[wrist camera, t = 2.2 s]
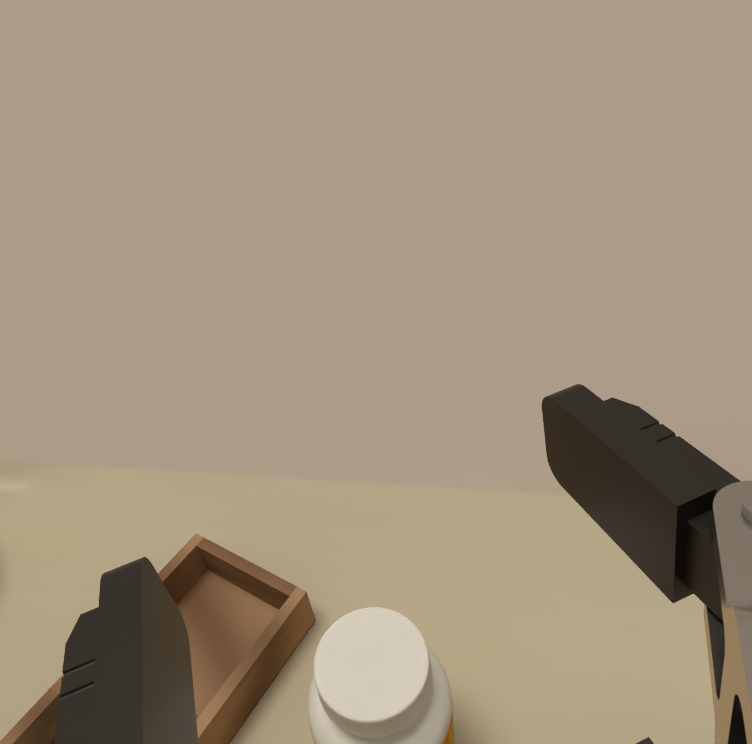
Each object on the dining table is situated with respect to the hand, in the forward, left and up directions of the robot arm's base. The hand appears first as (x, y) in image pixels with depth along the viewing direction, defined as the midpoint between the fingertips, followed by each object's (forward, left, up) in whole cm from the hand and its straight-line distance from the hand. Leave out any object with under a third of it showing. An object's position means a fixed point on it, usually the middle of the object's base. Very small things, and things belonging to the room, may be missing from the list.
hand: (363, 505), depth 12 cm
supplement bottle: (+2, +2, -21) cm, 21 cm away
